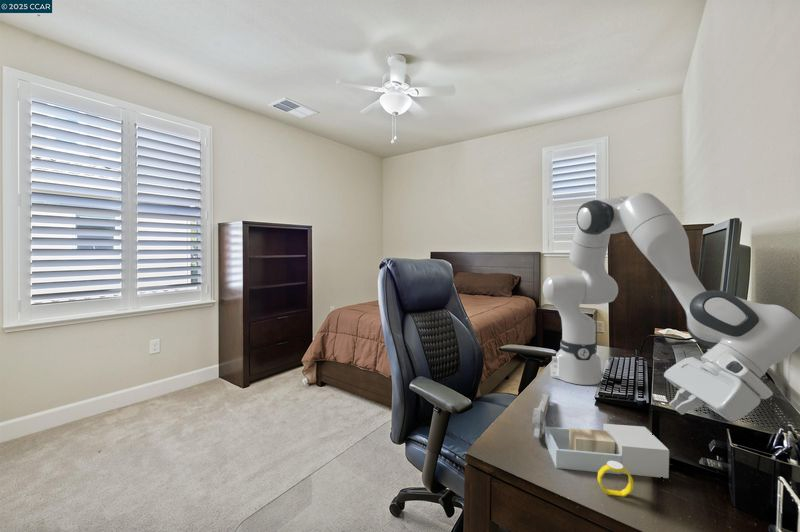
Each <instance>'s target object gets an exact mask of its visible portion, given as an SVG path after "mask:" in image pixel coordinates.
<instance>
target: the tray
mask: <svg viewBox="0 0 800 532" xmlns="http://www.w3.org/2000/svg"><path fill="white" fill-rule="evenodd" d="M569 428H570V427H555V426H544V436H545V437H544V443H545V445H546V447H547V450H548V452H549V456H550V458H551V460H552V462H553V464H554V466H555V469H565V470H574V471H583V472H591V473H592V472H593V473H598V471H599V470H600V469H601V467H603V466H605V465H607V462H608V461H616V462H619V463H621V455H620V454H610V453H599V452H588V451H577V450H570V449H569ZM605 474H614V475H622V474H621V472H614V471H612V470H609V471H607V472H605Z"/></svg>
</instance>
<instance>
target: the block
mask: <svg viewBox="0 0 800 532" xmlns="http://www.w3.org/2000/svg"><path fill="white" fill-rule="evenodd" d="M568 428H569V449H570V450H577V451H588V452H599V453H610V454H615V441H614V440H613V439H612V438H611V436H610V435H609V434H608V433H607V431H603V429H602V430H600V429H590V428H589V429H588V428H578V427H577V428H576V427H568Z"/></svg>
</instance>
